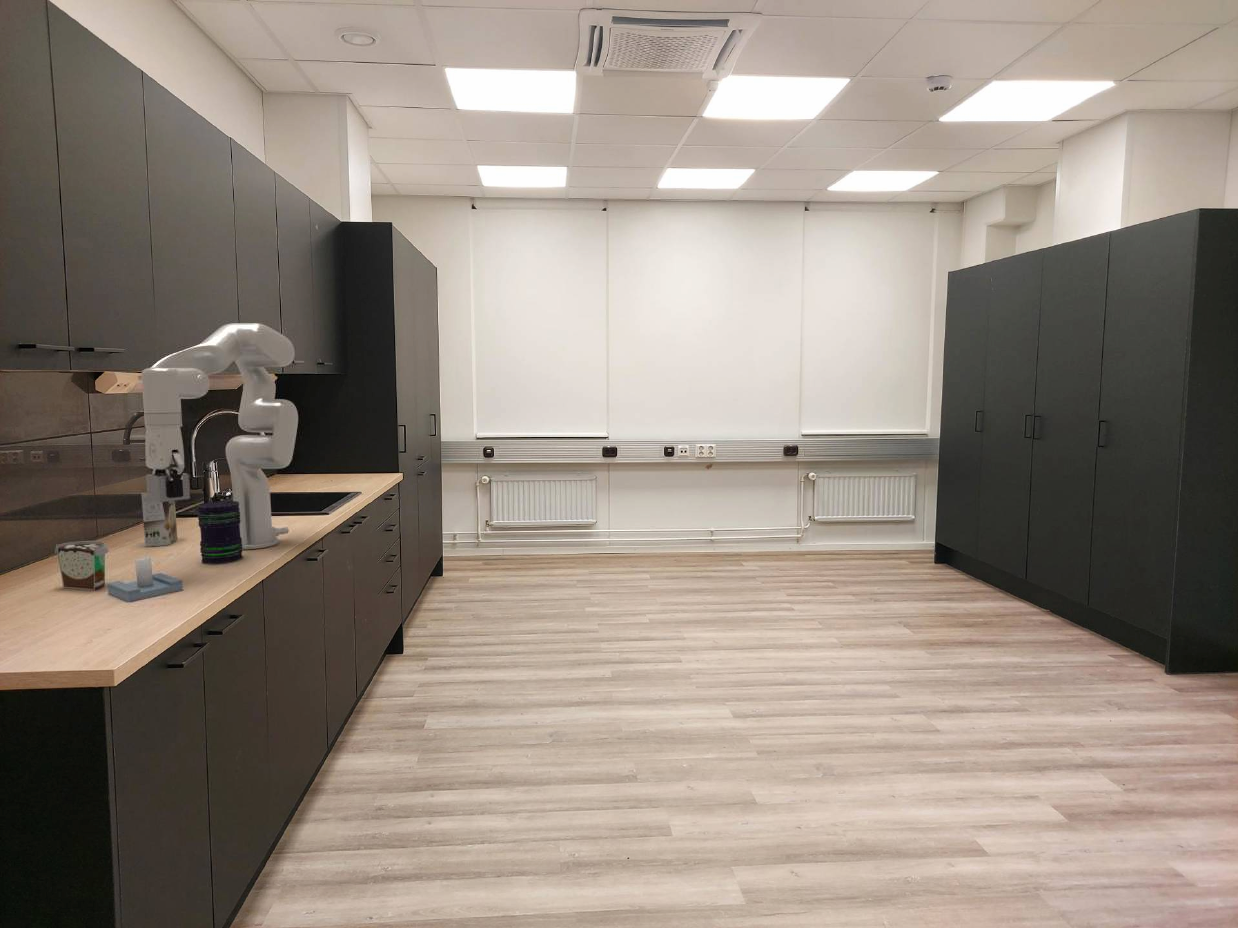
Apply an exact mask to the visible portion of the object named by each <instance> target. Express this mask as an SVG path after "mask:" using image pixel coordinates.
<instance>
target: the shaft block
mask: <svg viewBox="0 0 1238 928" xmlns="http://www.w3.org/2000/svg"><path fill="white" fill-rule="evenodd" d="M134 561H135V573H136V580H135V581H130V582H126V583H125V582H124V581H119V580H118V581H113V582H109V583H107V585H106V586H107V593H108V594H109V595H111V596H113V597H116V598H118V599H121V600H123V601H126V602H128V603H130V602H135V601H141V600H144V599H149V598H152V597H153V598H154V597H158V596H161V595H167V594H172V593H175V592H181V591H183V590H184V589H183V588H184V587H183V585H184V584H183V580H182V579H180V578H177V577H174V576H171V575H168V574H165V573H161V572H160V573H153V566H152V557H139V558H136V559H135V560H134Z"/></svg>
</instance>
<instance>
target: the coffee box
mask: <svg viewBox="0 0 1238 928" xmlns="http://www.w3.org/2000/svg"><path fill="white" fill-rule="evenodd" d="M140 495H141V508H142V519H143V533H144V544H145V547H158V546H159V547H160V546H161V547H162V546H163V547H164V546H170V545H171V544H173V543H174V542H175V541H177V540H178V528H177V527H178V525H177V514H176V513H177V512H176V500H175V501H166V502H156V501H151V500H148V497H147V488H146V489H144V490H142V491H140Z"/></svg>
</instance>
